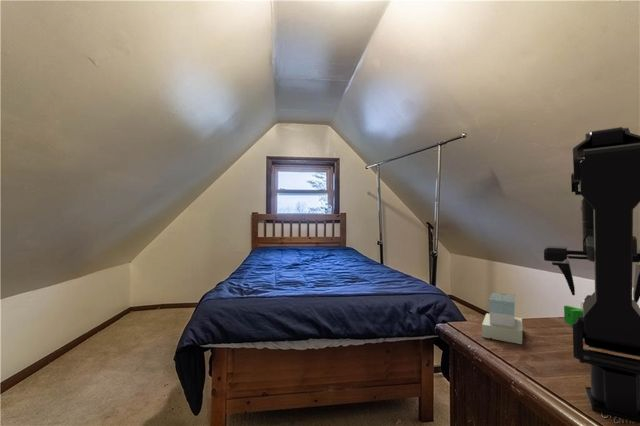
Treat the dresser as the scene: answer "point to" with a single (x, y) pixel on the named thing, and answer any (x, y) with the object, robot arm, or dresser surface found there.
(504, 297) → the grey-blue rectangular block
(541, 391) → the dresser surface
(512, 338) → the sage stand
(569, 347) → the dresser surface
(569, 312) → the pipe clamp
